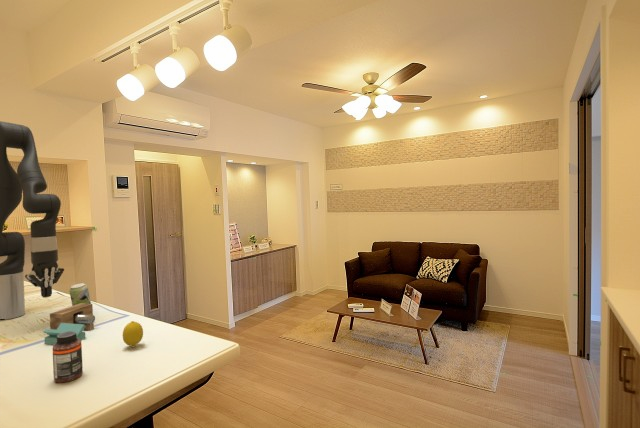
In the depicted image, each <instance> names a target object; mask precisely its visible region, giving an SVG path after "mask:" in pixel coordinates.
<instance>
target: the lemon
mask: <svg viewBox="0 0 640 428" xmlns="http://www.w3.org/2000/svg"><path fill="white" fill-rule="evenodd" d="M143 337H144V329H143V326H142V325H141V323H139V322H137V321H134V320H132V321H130V322H129V323H127V324H126V325H125V326H124V327H123V330H122V340H123V342H124V343H125V345H126V346H130V347H132V348H134V347H136V346H137V345H138V344H139V343H140V342H141V341H142V339H143Z"/></svg>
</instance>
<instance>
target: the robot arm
mask: <svg viewBox="0 0 640 428" xmlns="http://www.w3.org/2000/svg"><path fill="white" fill-rule="evenodd" d="M7 148H8V149H16V150H17V149H19V150H22V152H23V157H22V159H21V160H20V162H19V164H18V165H17V169H16V170H15V169H14V168H13V166H12V165H11V163H10V160H9V157H8V154H7V153H8V152H7ZM39 162H40V161H39V158H38V153H37V147H36V143H35V139H34V135H33V132H32V130H31V129H30V127H28V126H26V125H24V124H18V123H11V122H7V121H0V258H1V257H6V259H5V260H4V261H2V262H1V263H0V319H5V320H10V319H16V318H18V317H21V316H24V315H25V314H26V307H25V306H26V305H25V304H26V303H25V302H26V301H25V280H24V279H26V280H28V282H29V283H31V285H33V287H36V288H40V296H41V297H42V298H46V299H47V298H50V297H51V296H52V294H53V290H52V289H53V285H54V284H57V283H58V281H59V279H60V278H61V277H62V275H63V273H64V272H65V268H62V267H59V264H58V263H57V262H58V260H59V251H58V241H57V228H56V225H57V220H58V216H59V214H60V210H61V207H62V202H61V199H60V197H59V196H58V195H57V194H54V193H43V192H45V191H46V190H47V188H48V184H47V181H46V179H45V176H44V175H43V171H42V169H41V167H40V163H39ZM21 201H22V208H23V210H24V211H25V212H26V213H28V214H32V215H33V214H35V215H36V214H37V215H38V214H40V215H42V214H44V217H43V218H41V219H37V220H34V221H32V222H31V223H30V247H29V248H30V261H31V264H32V268H31V272H30V273H28V274H24V266H25V259H26V258H25V254H26V252H25V251H26V242H25V237H24V235H23V234H22V233H21V232H18V231H8V232H7V231H5V232H3V230H4V226H5V223H6V221H7V220H8V219H9V217H10V216H11V215H12V213H13V212H15V210H16V209H17V208H18V206H19V205H20V204H21Z"/></svg>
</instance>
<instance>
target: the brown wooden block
mask: <svg viewBox="0 0 640 428" xmlns="http://www.w3.org/2000/svg"><path fill="white" fill-rule="evenodd" d="M93 310H94V309H93V303H91V304H87V303H80V304H77V305H74V306H72V305H71V306H68V307H66V308H62V309H59V310H55V311H54V312H50V313H49V327H50V328H49V329H54V330H57V328H58V327H59V325H60V324H61V323H71V324H83V323H74V322H73V314H83V315H94V313H93ZM94 323H95V322H93V323H92V324H84V325H86V327H85V328H84V330H83V331H93V330H94V329H95V325H94Z"/></svg>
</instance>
